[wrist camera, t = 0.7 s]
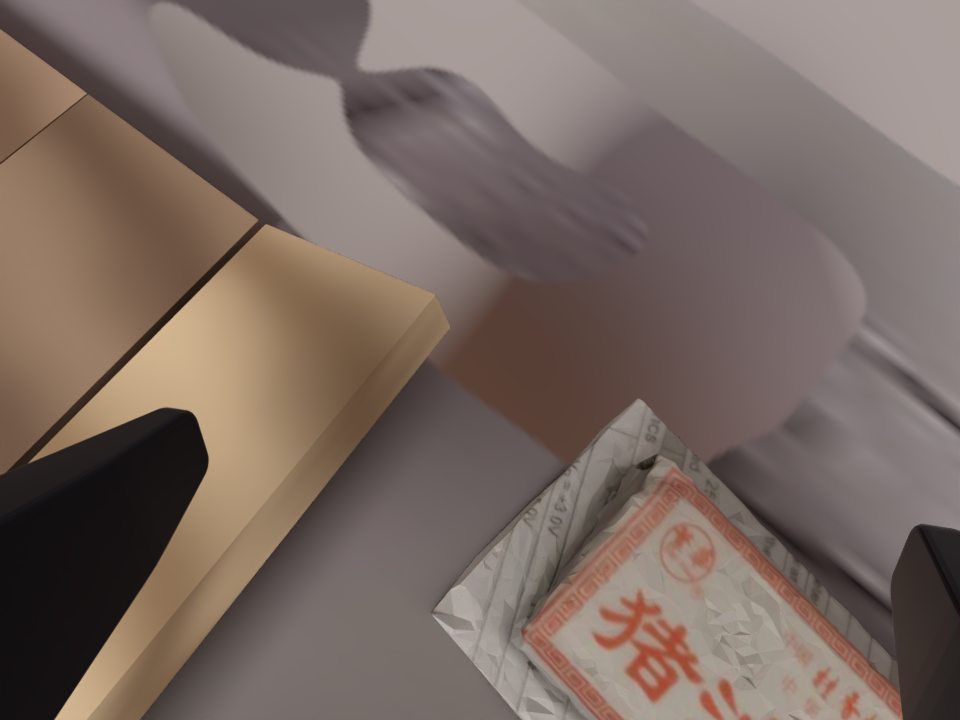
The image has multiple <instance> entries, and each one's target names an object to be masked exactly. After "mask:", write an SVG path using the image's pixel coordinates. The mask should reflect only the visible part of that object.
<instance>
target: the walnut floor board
mask: <svg viewBox="0 0 960 720" xmlns="http://www.w3.org/2000/svg"><path fill="white" fill-rule="evenodd" d="M259 230H260V224H259V220H258V219H257V218H255V217H254V216H253V215H251V214H250V213H248V212H247V211H246V210H244V209H243V208H242V207H240V206H239V205H238V204H236V203H235V202H234V201H232V200H231V199H230V198H228V197H227V196H225V195H224V194H223V193H221V192H220V191H219V190H217V189H216V188H215V187H213V186H212V185H211V184H209V183H208V182H206V181H205V180H204V179H202V178H201V177H200V176H198V175H197V174H196V173H194V172H193V171H192V170H190V169H189V168H188V167H186V166H185V165H183V164H182V163H181V162H179V161H178V160H177V159H175V158H174V157H173V156H171V155H170V154H169V153H167V152H166V151H165V150H163V149H162V148H160V147H159V146H158V145H156V144H155V143H154V142H152V141H151V140H150V139H148V138H147V137H146V136H144V135H143V134H141V133H140V132H139V131H137V130H136V129H135V128H133V127H132V126H131V125H129V124H128V123H127V122H125V121H124V120H123V119H121V118H120V117H118V116H117V115H116V114H114V113H113V112H112V111H110V110H109V109H108V108H106V107H105V106H104V105H102V104H101V103H100V102H98V101H97V100H95V99H94V98H93V97H91V96H90V95H89V94H87V93H86V92H85V91H83V90H82V89H81V88H79V87H78V86H76V85H75V84H74V83H72V82H71V81H70V80H68V79H67V78H66V77H64V76H63V75H62V74H60V73H59V72H58V71H56V70H55V69H53V68H52V67H51V66H49V65H48V64H47V63H45V62H44V61H43V60H41V59H40V58H39V57H37V56H36V55H35V54H33V53H32V52H30V51H29V50H28V49H26V48H25V47H24V46H22V45H21V44H20V43H18V42H17V41H16V40H14V39H13V38H12V37H10V36H9V35H7V34H6V33H5V32H3V31H2V30H1V29H0V475H1V474H4V473H6V472H9V471H11V470H13V469H16V468H18V467H21V466H23V465H25V464H28V463H29V462H30V461H31V460H32V459H33V458H34V457H35V456H36V455H37V454H38V453H39V452H40V451H41V450H42V449H43V448H44V447H45V446H46V445H47V444H48V443H49V442H50V441H51V440H52V439H53V438H54V437H55V436H56V434H57V433H58V432H59V431H60V430H61V429H62V428H63V427H64V426H65V425H66V424H67V423H68V422H69V421H70V420H71V419H72V418H73V417H74V416H75V415H76V414H77V413H78V412H79V411H80V410H81V409H82V408H83V407H84V406H85V405H86V404H87V403H88V402H89V401H90V400H91V399H92V398H93V397H94V396H95V395H96V394H97V393H98V392H99V391H100V390H101V389H102V388H103V387H104V386H105V385H106V384H107V383H108V382H109V381H110V380H111V379H112V378H113V377H114V376H115V375H116V374H117V373H118V372H119V371H120V370H121V369H122V368H123V367H124V366H125V365H126V364H127V363H128V362H129V361H130V360H131V359H132V358H133V357H134V356H135V355H136V354H137V353H138V352H139V351H140V350H141V349H142V348H143V347H144V346H145V345H146V344H147V343H148V342H149V341H150V340H151V339H152V338H153V337H154V336H155V335H156V334H157V333H158V332H159V331H160V330H161V329H162V328H163V327H164V326H165V325H166V324H167V323H168V322H169V321H170V320H171V319H172V318H173V317H174V316H175V315H176V314H177V313H178V312H179V311H180V310H181V309H182V308H183V307H184V306H185V305H186V304H187V303H188V302H189V301H190V300H191V299H192V298H193V297H194V296H195V295H196V294H197V293H198V292H199V291H200V290H201V289H202V288H203V287H204V286H205V285H206V284H207V283H208V282H209V281H210V280H211V279H212V278H213V277H214V276H215V275H216V274H217V273H218V272H219V271H220V270H221V269H222V268H223V267H224V266H225V265H226V264H227V263H228V262H229V261H230V260H231V259H232V258H233V257H234V256H235V255H236V254H237V253H238V252H239V251H240V250H241V248H242V247H243V246H244V245H245V244H246V243H247V242H248V241H249V240H250V239H251V238H252V237H253V236H254V235H255V234H256V233H257V232H258V231H259Z"/></svg>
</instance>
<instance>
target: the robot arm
mask: <svg viewBox="0 0 960 720" xmlns="http://www.w3.org/2000/svg"><path fill="white" fill-rule="evenodd" d="M208 464H209V456H208V452H207V449H206V445H205V442H204V439H203V436H202V433H201V430H200V427H199V423H198V420H197V418H196V416H195V415H194V414H193V413H192V412H190V411H188V410H183V409H177V408H170V407H164V408H160V409H157V410H155V411H152V412H150V413H148V414H145V415H143V416H140V417H138V418H136V419H133V420H131V421H128V422H126V423H124V424H121V425H119V426H116V427H114V428H112V429H109V430H107V431H104V432H102V433H100V434H97V435H95V436H92V437H90V438H88V439H85V440H83V441H81V442H78V443H76V444H73V445H71V446H69V447H66V448H64V449H61V450H59V451H57V452H54V453H52V454H49V455H47V456H45V457H42V458H40V459H37V460H35V461H33V462H30V463H28V464H25V465H23V466H21V467H18V468H16V469H13V470H11V471H9V472H6V473H4V474H1V475H0V720H55V719H56V717H57V716H58V714H59V713H60V711H61V709H62V708H63V706H64V705H65V703H66V702H67V700H68V699H69V697H70V696H71V694H72V693H73V691H74V690H75V688H76V687H77V685H78V684H79V682H80V681H81V679H82V678H83V676H84V675H85V673H86V672H87V670H88V669H89V667H90V666H91V664H92V663H93V661H94V660H95V658H96V657H97V655H98V654H99V652H100V651H101V649H102V648H103V646H104V645H105V643H106V642H107V640H108V639H109V637H110V636H111V634H112V633H113V631H114V630H115V628H116V627H117V625H118V624H119V622H120V621H121V619H122V618H123V616H124V615H125V613H126V612H127V610H128V609H129V607H130V606H131V604H132V603H133V601H134V600H135V598H136V597H137V595H138V594H139V592H140V591H141V589H142V588H143V586H144V584H145V583H146V581H147V580H148V578H149V577H150V575H151V574H152V572H153V570H154V569H155V567H156V566H157V564H158V562H159V560H160V559H161V557H162V555H163V553H164V551H165V550H166V548H167V546H168V544H169V542H170V540H171V538H172V537H173V535H174V533H175V531H176V529H177V527H178V525H179V523H180V522H181V520H182V518H183V516H184V514H185V512H186V510H187V508H188V507H189V505H190V503H191V501H192V499H193V497H194V495H195V493H196V491H197V490H198V488H199V486H200V484H201V482H202V480H203V478H204V476H205V474H206V472H207V469H208ZM891 605H892V616H893V626H894V636H895V647H896V657H897V668H898V678H899V688H900V699H901V709H902V717H903V720H960V531H959V530H956V529H952V528H945V527H939V526H932V525H926V524H920V525H917V526H915V527H914V528H913V529H912V530H911V532H910V534H909V536H908V538H907V541H906V543H905V546H904V548H903V551H902V553H901V556H900V558H899V561H898V563H897V565H896V568H895V570H894V573H893V576H892V581H891Z"/></svg>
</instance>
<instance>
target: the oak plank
mask: <svg viewBox="0 0 960 720" xmlns="http://www.w3.org/2000/svg"><path fill="white" fill-rule="evenodd" d="M449 329H450V324H449V322H448V320H447V318H446V315H445V313H444V311H443V309H442V306H441V304H440V302H439V300H438V297H437V295H436V294H434V293H431V292H429V291H427V290H424V289H422V288H420V287H417V286H415V285H412V284H410V283H407V282H405V281H402V280H400V279H398V278H395V277H393V276H390V275H388V274H386V273H383V272H381V271H378V270H376V269H373V268H371V267H369V266H366V265H364V264H361V263H359V262H357V261H354V260H352V259H349V258H347V257H345V256H342V255H340V254H337V253H335V252H332V251H330V250H327V249H325V248H323V247H320V246H318V245H315V244H313V243H311V242H308V241H306V240H303V239H301V238H298V237H296V236H294V235H291V234H289V233H286V232H284V231H282V230H279V229H277V228H274V227H272V226H269V225H267V224H265V225H264V226H263V227H262V228H261V229H260V230H259V231H258V232H257V233H256V234H255V235H254V236H253V237H252V238H251V239H250V240H249V241H248V242H247V243H246V244H245V245H244V246H243V247H242V248H241V250H240V251H239V252H238V253H237V254H236V255H235V256H234V257H233V258H232V259H231V260H230V261H229V262H228V263H227V264H226V265H225V266H224V267H223V268H222V269H221V270H220V271H219V272H218V273H217V274H216V275H215V276H214V277H213V278H212V279H211V280H210V281H209V282H208V283H207V284H206V285H205V286H204V287H203V288H202V289H201V290H200V291H199V292H198V293H197V294H196V295H195V296H194V297H193V298H192V299H191V300H190V301H189V302H188V303H187V304H186V305H185V306H184V307H183V308H182V309H181V310H180V311H179V312H178V313H177V314H176V315H175V316H174V317H173V318H172V319H171V320H170V321H169V322H168V323H167V324H166V325H165V326H164V327H163V328H162V329H161V330H160V331H159V332H158V333H157V334H156V335H155V336H154V337H153V338H152V339H151V340H150V341H149V342H148V343H147V344H146V345H145V346H144V347H143V348H142V349H141V350H140V351H139V352H138V353H137V354H136V355H135V356H134V357H133V358H132V359H131V360H130V361H129V362H128V363H127V364H126V365H125V366H124V367H123V368H122V369H121V370H120V371H119V372H118V373H117V374H116V375H115V376H114V377H113V378H112V379H111V380H110V381H109V382H108V383H107V384H106V385H105V386H104V387H103V388H102V389H101V390H100V391H99V392H98V393H97V394H96V395H95V396H94V397H93V398H92V399H91V400H90V401H89V402H88V403H87V404H86V405H85V406H84V407H83V408H82V409H81V410H80V411H79V412H78V413H77V414H76V415H75V416H74V417H73V418H72V419H71V420H70V421H69V422H68V423H67V424H66V425H65V426H64V427H63V428H62V429H61V430H60V431H59V432H58V433H57V434H56V436H55V437H54V438H53V439H52V440H51V441H50V442H49V443H48V444H47V445H46V446H45V447H44V448H43V449H42V450H41V451H40V452H39V453H38V454H37V455H36V456H35V457H34V458H33V459H32V460H31V461H30V462H33V461H35V460H37V459H40V458H42V457H45V456H47V455H49V454H52V453H54V452H57V451H59V450H61V449H64V448H66V447H69V446H71V445H73V444H76V443H78V442H81V441H83V440H85V439H88V438H90V437H92V436H95V435H97V434H100V433H102V432H104V431H107V430H109V429H112V428H114V427H116V426H119V425H121V424H124V423H126V422H128V421H131V420H133V419H136V418H138V417H140V416H143V415H145V414H148V413H150V412H152V411H155V410H157V409H160V408H164V407H170V408H177V409H183V410H188V411H190V412H192V413H193V414H194V415H195V416H196V418H197V420H198V423H199V427H200V430H201V433H202V436H203V439H204V442H205V445H206V449H207V452H208V456H209V464H208V469H207V472H206V474H205V476H204V478H203V480H202V482H201V484H200V486H199V488H198V490H197V491H196V493H195V495H194V497H193V499H192V501H191V503H190V505H189V507H188V508H187V510H186V512H185V514H184V516H183V518H182V520H181V522H180V523H179V525H178V527H177V529H176V531H175V533H174V535H173V537H172V538H171V540H170V542H169V544H168V546H167V548H166V550H165V551H164V553H163V555H162V557H161V559H160V560H159V562H158V564H157V566H156V567H155V569H154V570H153V572H152V574H151V575H150V577H149V578H148V580H147V581H146V583H145V584H144V586H143V588H142V589H141V591H140V592H139V594H138V595H137V597H136V598H135V600H134V601H133V603H132V604H131V606H130V607H129V609H128V610H127V612H126V613H125V615H124V616H123V618H122V619H121V621H120V622H119V624H118V625H117V627H116V628H115V630H114V631H113V633H112V634H111V636H110V637H109V639H108V640H107V642H106V643H105V645H104V646H103V648H102V649H101V651H100V652H99V654H98V655H97V657H96V658H95V660H94V661H93V663H92V664H91V666H90V667H89V669H88V670H87V672H86V673H85V675H84V676H83V678H82V679H81V681H80V682H79V684H78V685H77V687H76V688H75V690H74V691H73V693H72V694H71V696H70V697H69V699H68V700H67V702H66V703H65V705H64V706H63V708H62V709H61V711H60V713H59V714H58V716H57V717H56V719H55V720H140V719H141V718H142V716H143V715H144V714H145V713H146V711H147V710H148V709H149V708H150V706H151V705H152V704H153V703H154V701H155V700H156V699H157V698H158V696H159V695H160V694H161V692H162V691H163V690H164V689H165V687H166V686H167V685H168V684H169V682H170V681H171V680H172V679H173V677H174V676H175V675H176V674H177V672H178V671H179V670H180V668H181V667H182V666H183V665H184V663H185V662H186V661H187V660H188V658H189V657H190V656H191V655H192V653H193V652H194V651H195V650H196V648H197V647H198V646H199V644H200V643H201V642H202V641H203V639H204V638H205V637H206V636H207V634H208V633H209V632H210V631H211V629H212V628H213V627H214V626H215V624H216V623H217V622H218V621H219V619H220V618H221V617H222V615H223V614H224V613H225V612H226V610H227V609H228V608H229V607H230V605H231V604H232V603H233V602H234V600H235V599H236V598H237V597H238V595H239V594H240V593H241V591H242V590H243V589H244V588H245V586H246V585H247V584H248V583H249V581H250V580H251V579H252V578H253V576H254V575H255V574H256V573H257V571H258V570H259V569H260V567H261V566H262V565H263V564H264V562H265V561H266V560H267V559H268V557H269V556H270V555H271V554H272V552H273V551H274V550H275V549H276V547H277V546H278V545H279V543H280V542H281V541H282V540H283V538H284V537H285V536H286V535H287V533H288V532H289V531H290V530H291V528H292V527H293V526H294V525H295V523H296V522H297V521H298V520H299V518H300V517H301V516H302V514H303V513H304V512H305V511H306V509H307V508H308V507H309V506H310V504H311V503H312V502H313V501H314V499H315V498H316V497H317V496H318V494H319V493H320V492H321V490H322V489H323V488H324V487H325V485H326V484H327V483H328V482H329V480H330V479H331V478H332V477H333V475H334V474H335V473H336V472H337V470H338V469H339V468H340V466H341V465H342V464H343V463H344V461H345V460H346V459H347V458H348V456H349V455H350V454H351V453H352V451H353V450H354V449H355V448H356V446H357V445H358V444H359V442H360V441H361V440H362V439H363V437H364V436H365V435H366V434H367V432H368V431H369V430H370V429H371V427H372V426H373V425H374V424H375V422H376V421H377V420H378V418H379V417H380V416H381V415H382V413H383V412H384V411H385V410H386V408H387V407H388V406H389V405H390V403H391V402H392V401H393V400H394V398H395V397H396V396H397V395H398V393H399V392H400V391H401V389H402V388H403V387H404V386H405V384H406V383H407V382H408V381H409V379H410V378H411V377H412V376H413V374H414V373H415V372H416V371H417V369H418V368H419V367H420V365H421V364H422V363H423V362H424V360H425V359H426V358H427V357H428V355H429V354H430V353H431V352H432V350H433V349H434V348H435V347H436V345H437V344H438V343H439V341H440V340H441V339H442V337H443V336H444V335H445V334H446V333H447V331H448V330H449ZM30 462H29V463H30Z"/></svg>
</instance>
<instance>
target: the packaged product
mask: <svg viewBox="0 0 960 720" xmlns="http://www.w3.org/2000/svg"><path fill="white" fill-rule="evenodd" d="M431 615H432V616H433V617H434V618H435V619H436V620H437V621H438V623H439V624H440V625H441V626H442V627H443V628H444V629H445V631H446V632H447V633H448V634H449V635H450V636H451V638H452V639H453V640H454V641H455V642H456V643H457V644H458V646H459V647H460V648H461V649H462V650H463V651H464V653H465V654H466V655H467V656H468V657H469V658H470V660H471V661H472V662H473V663H474V664H475V665H476V667H477V668H478V669H479V670H480V671H481V673H482V674H483V675H484V676H485V677H486V678H487V680H488V681H489V682H490V683H491V684H492V686H493V687H494V688H495V689H496V690H497V691H498V693H499V694H500V695H501V696H502V697H503V699H504V700H505V701H506V702H507V703H508V704H509V706H510V707H511V708H512V709H513V710H514V712H515V713H516V714H517V715H518V716H519V717H520V718H521V719H522V720H903V717H902V709H901V699H900V688H899V678H898V668H897V661H896V660H894V659H893V658H892V657H891V656H890V655H889V654H888V653H887V652H886V651H885V650H884V649H883V647H882V646H881V645H880V644H879V643H878V642H877V641H876V640H874V639H873V638H872V637H871V636H870V635H869V634H868V633H867V632H866V631H865V630H864V628H863V627H862V626H861V624H860V623H859V622H858V621H857V620H856V619H855V617H854V616H853V615H852V614H851V613H850V612H849V611H848V610H847V609H846V608H844V607H843V606H842V605H841V604H840V603H839V602H838V601H836V600H835V599H834V598H833V597H832V596H831V595H830V594H829V592H828V591H827V590H826V589H825V588H824V586H823V585H822V584H821V583H820V582H819V581H818V580H817V579H816V578H815V577H814V576H813V575H812V574H811V573H810V572H809V571H808V570H807V569H805V568H804V566H803V565H802V564H801V563H800V562H799V561H798V560H797V559H796V558H795V557H794V556H793V555H792V554H791V553H790V552H789V551H788V550H787V549H786V548H785V547H784V546H783V545H782V544H781V543H780V542H779V540H778V539H777V538H776V537H774V536H773V535H772V534H771V533H770V532H769V531H768V530H767V529H766V528H764V527H763V526H762V525H761V524H760V523H759V522H758V521H757V519H756V518H755V517H754V516H753V515H752V514H751V512H750V511H749V510H748V509H747V508H746V506H745V505H744V504H743V503H742V502H741V501H740V500H739V499H738V498H737V497H736V496H735V495H734V494H733V493H732V492H731V491H730V490H729V489H728V488H727V487H726V486H725V485H724V484H723V483H722V481H721V480H719V479H718V478H717V477H716V476H715V475H714V474H713V473H712V472H711V471H710V470H709V469H708V467H707V466H706V465H705V464H704V463H703V462H702V461H701V460H700V459H699V458H698V457H697V456H696V455H695V454H694V453H693V452H692V451H691V450H690V449H689V448H688V447H686V445H685V444H684V443H683V442H682V440H681V439H680V438H679V437H678V436H676V435H675V434H674V433H673V432H671V431H670V430H669V428H668V427H667V426H666V425H665V424H664V423H663V422H662V421H661V420H660V419H659V418H658V417H657V416H656V415H655V414H654V412H653V411H652V410H651V409H650V408H649V407H648V406H647V405H646V404H645V403H644V402H643V401H642V400H640V399H639V398H638V399H637V400H636V401H635V402H633V403H632V404H631V405H630V406H628V407H627V408H626V409H625V410H624V411H623V412H621V414H619V415H618V416H617V417H615V419H613V420H612V421H611V422H610V423H608V424H607V425H606V426H605V427H604V428H602V430H601V431H600V432H599V433H598V434H597V435H596V437H595V438H594V439H593V440H592V441H591V442H590V443H589V445H588V446H587V447H586V448H585V449H584V450H583V451H582V452H581V453H580V455H579V456H578V457H577V458H576V459H575V460H574V461H573V463H572V464H571V465H570V466H569V467H568V468H567V469H566V471H565V472H564V473H563V474H562V475H561V476H560V477H559V478H558V479H557V480H556V481H555V482H554V483H552V484H551V485H550V486H549V487H548V488H547V489H546V490H544V491H543V492H542V493H541V494H540V495H539V496H538V497H536V498H535V499H534V500H533V501H532V502H531V503H530V504H529V505H528V506H527V507H526V508H525V509H524V510H523V511H522V512H521V513H520V514H519V515H518V516H517V517H516V518H515V519H514V520H513V521H512V522H511V523H510V524H509V525H508V526H507V527H506V528H505V529H504V530H502V531H501V532H500V533H499V534H498V535H497V536H496V537H495V538H494V539H493V540H492V541H491V542H490V543H489V544H488V545H487V546H486V547H485V548H484V549H483V550H482V551H481V552H480V553H479V554H478V555H477V556H476V557H475V559H474V560H473V561H472V562H471V564H470V565H469V566H468V567H467V568H466V570H465V571H464V572H463V573H462V575H461V576H460V577H459V578H458V580H457V581H456V582H455V583H454V585H453V586H452V587H451V588H450V590H449V591H448V592H447V593H446V595H445V596H444V597H443V598H442V600H441V601H440V602H439V603H438V605H437V606H436V607H435V608H434V609H433V611H432V612H431Z"/></svg>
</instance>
